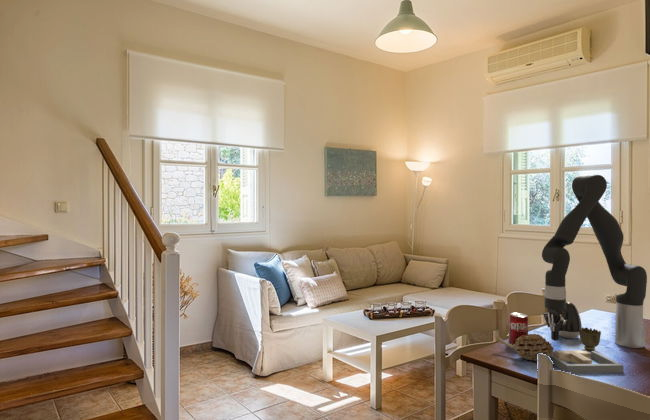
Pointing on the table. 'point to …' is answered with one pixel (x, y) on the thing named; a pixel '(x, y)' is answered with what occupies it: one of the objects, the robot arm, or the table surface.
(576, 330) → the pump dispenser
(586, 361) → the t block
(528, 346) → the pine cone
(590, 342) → the cup
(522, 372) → the table surface
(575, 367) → the shallow grey tray
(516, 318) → the soda can
